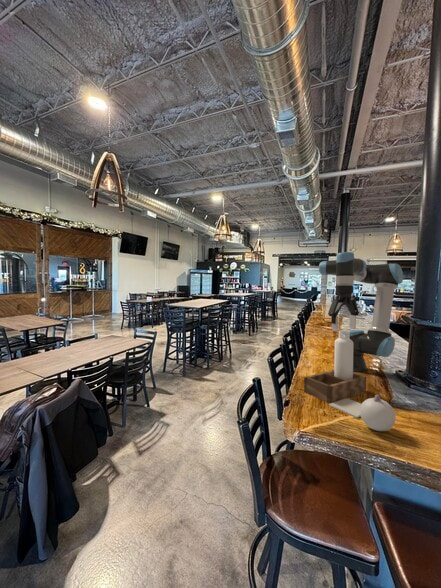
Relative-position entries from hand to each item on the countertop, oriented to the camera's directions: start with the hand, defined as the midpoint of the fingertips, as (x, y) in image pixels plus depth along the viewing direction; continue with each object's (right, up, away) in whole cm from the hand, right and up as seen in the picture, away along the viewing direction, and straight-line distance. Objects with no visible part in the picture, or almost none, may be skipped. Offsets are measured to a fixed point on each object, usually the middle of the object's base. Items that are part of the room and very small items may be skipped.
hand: (343, 329), depth 125 cm
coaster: (-6, -29, -19) cm, 35 cm away
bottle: (0, -29, +1) cm, 29 cm away
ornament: (-5, -30, -34) cm, 46 cm away
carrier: (-5, -29, -2) cm, 29 cm away
